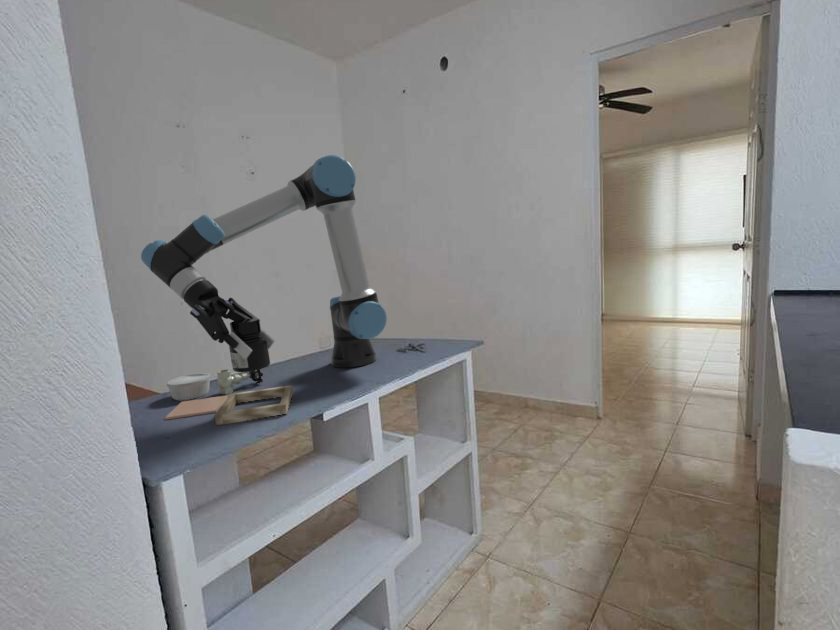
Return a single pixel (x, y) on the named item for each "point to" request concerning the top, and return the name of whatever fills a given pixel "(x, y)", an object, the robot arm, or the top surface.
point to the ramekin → (189, 386)
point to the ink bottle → (250, 336)
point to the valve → (235, 379)
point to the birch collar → (232, 416)
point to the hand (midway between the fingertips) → (260, 349)
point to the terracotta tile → (197, 407)
